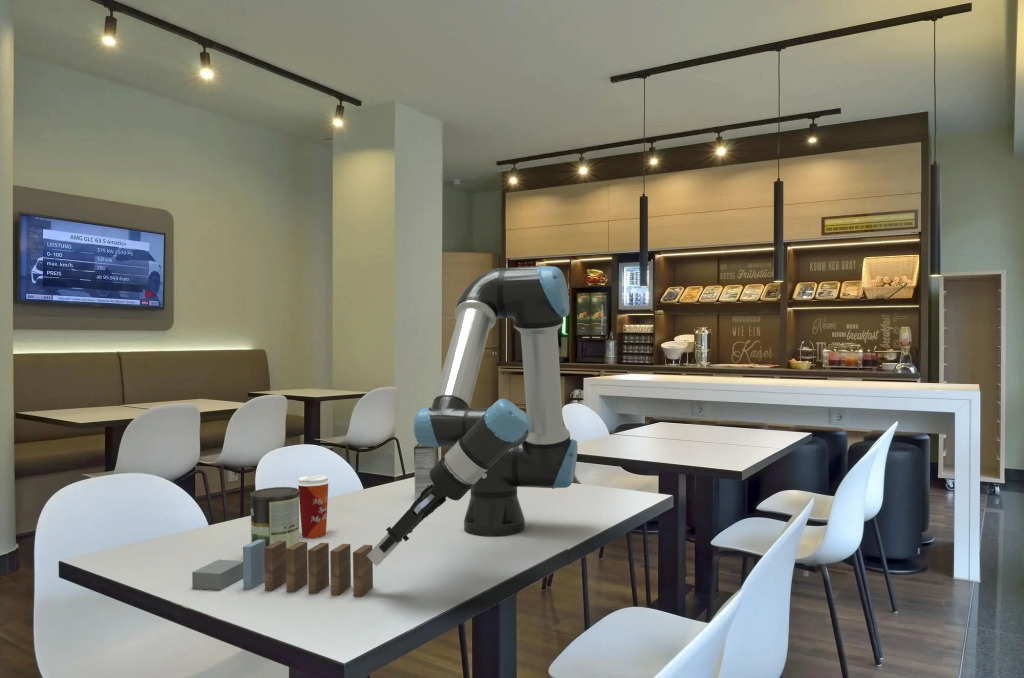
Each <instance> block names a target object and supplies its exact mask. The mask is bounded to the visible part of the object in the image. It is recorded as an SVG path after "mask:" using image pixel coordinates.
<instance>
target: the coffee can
mask: <svg viewBox="0 0 1024 678" xmlns="http://www.w3.org/2000/svg"><path fill="white" fill-rule="evenodd" d="M299 493H300V490H299V488H297V487H292V486H289V487H288V486H276V487H266V488H261V489H257V490H254V491H252V492H250V493H249V495H250V532H251V533H250V537H251V538H250V539H251V540H250V543H252V542H254V541H256V540H265V547H267V546H269V545H271V544H273V543H275V542H277V541H286V549H287V548H289V547H290V546H292V545H294V544H296V543H298V542H300V502H299Z"/></svg>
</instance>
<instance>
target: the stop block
mask: <svg viewBox="0 0 1024 678" xmlns="http://www.w3.org/2000/svg"><path fill="white" fill-rule="evenodd" d="M191 574H192V575H191V576H192V579H191V580H192V582H191V587H192V589H194V590H195V589H197V590H212V591H222V590H224V589H225V588H228V587H229V586H231V585H233V584H235V583H237V582H239V581H240V580H242V579H243V560H235V559H234V560H231V559H217V560H214V561H212V562H211V563H208V564H206V565H204V566H202V567H200V568H198V569H196V570H193V571H192V572H191Z"/></svg>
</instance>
